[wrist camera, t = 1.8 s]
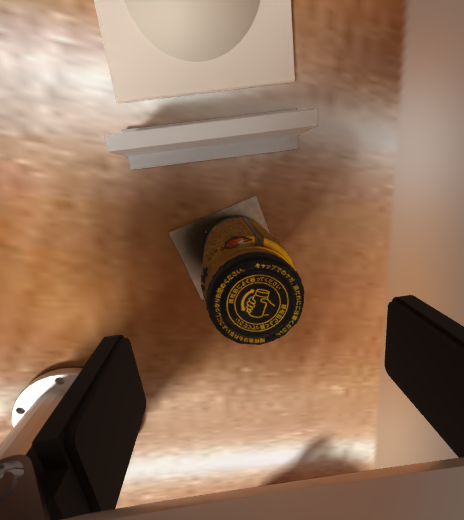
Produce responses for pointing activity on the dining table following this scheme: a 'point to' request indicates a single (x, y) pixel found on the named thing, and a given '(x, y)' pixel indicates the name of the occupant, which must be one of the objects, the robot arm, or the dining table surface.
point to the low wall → (212, 138)
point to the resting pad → (195, 46)
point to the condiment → (241, 273)
